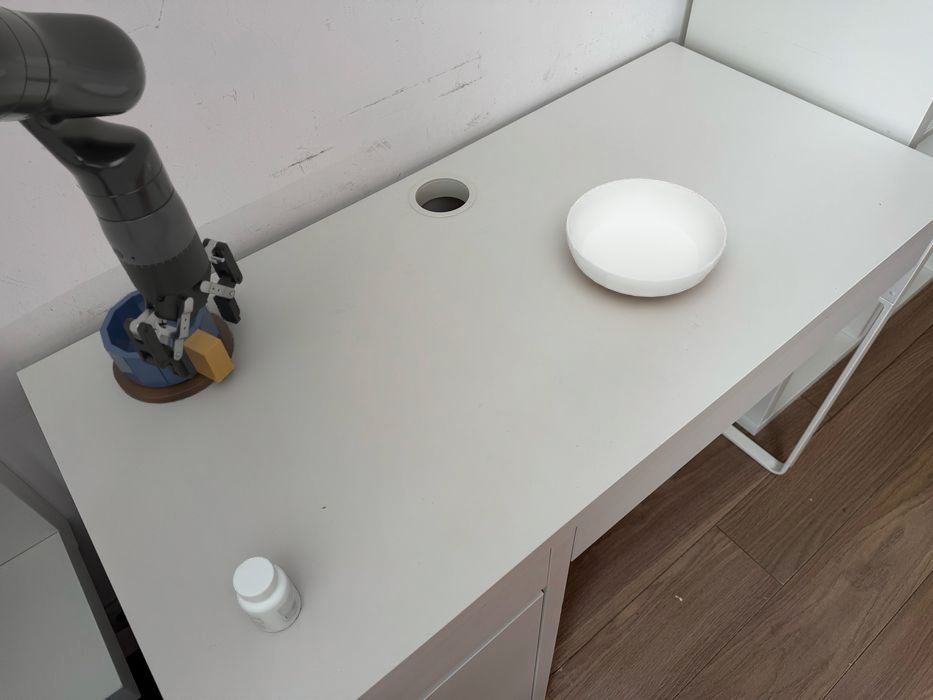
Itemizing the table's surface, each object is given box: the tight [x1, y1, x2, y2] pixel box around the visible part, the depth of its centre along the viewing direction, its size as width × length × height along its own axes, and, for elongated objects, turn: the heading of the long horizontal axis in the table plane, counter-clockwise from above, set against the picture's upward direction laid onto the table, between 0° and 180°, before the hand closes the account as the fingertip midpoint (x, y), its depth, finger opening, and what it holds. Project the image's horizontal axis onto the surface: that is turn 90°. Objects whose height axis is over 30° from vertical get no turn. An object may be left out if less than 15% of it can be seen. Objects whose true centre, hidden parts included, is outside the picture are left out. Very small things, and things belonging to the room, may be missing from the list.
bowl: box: [565, 177, 728, 298], centre depth 87 cm, size 20×20×6 cm
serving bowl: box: [99, 289, 235, 387], centre depth 80 cm, size 15×12×5 cm
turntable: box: [112, 311, 235, 404], centre depth 83 cm, size 14×14×1 cm
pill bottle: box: [232, 556, 302, 633], centre depth 60 cm, size 4×4×8 cm
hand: (210, 346), depth 77 cm, fingers open, 8 cm apart
